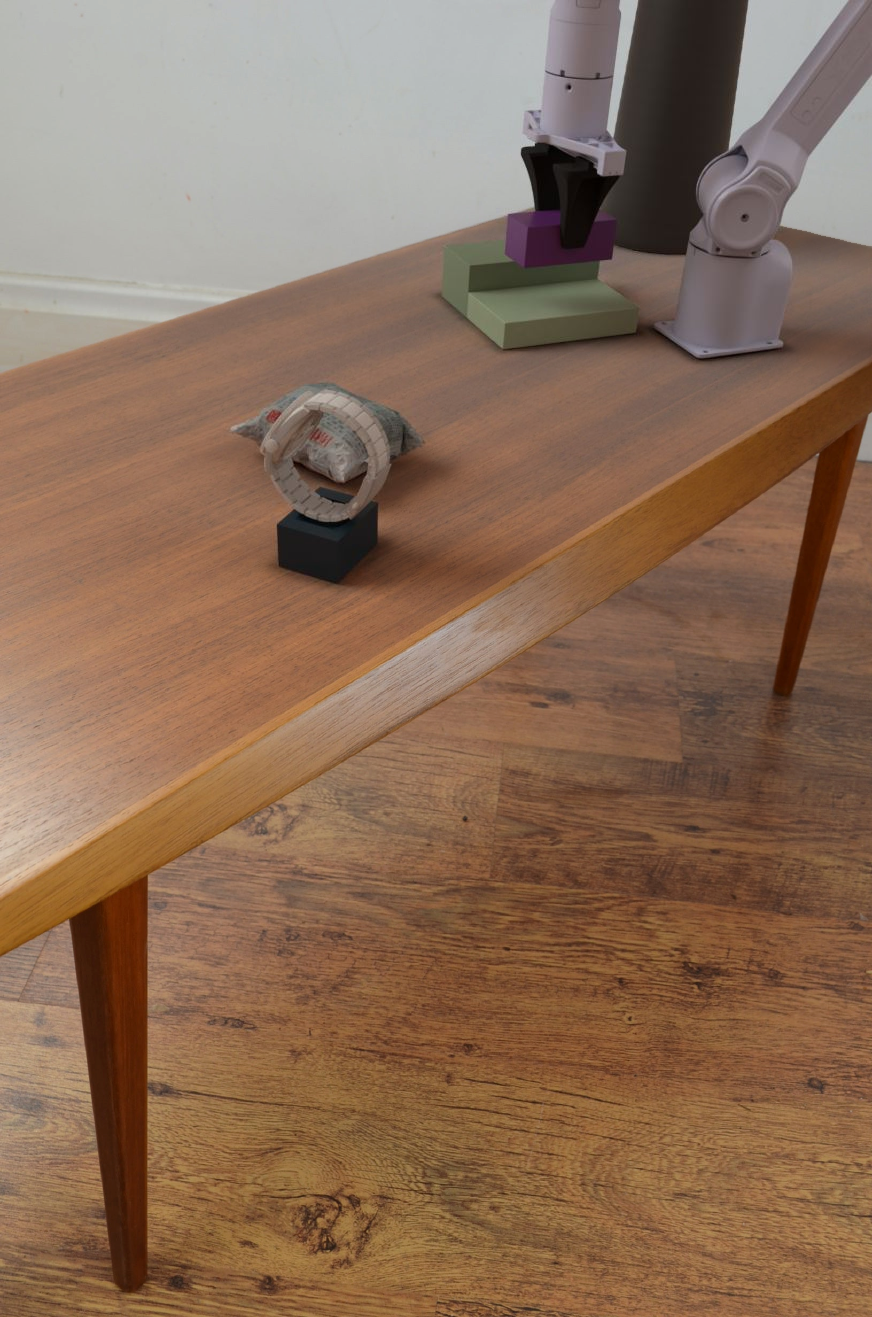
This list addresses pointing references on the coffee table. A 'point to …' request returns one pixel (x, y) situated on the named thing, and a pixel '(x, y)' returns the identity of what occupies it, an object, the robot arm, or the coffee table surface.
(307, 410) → the watch
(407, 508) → the coffee table surface
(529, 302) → the step shelf
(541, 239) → the purple rectangular block
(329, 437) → the packaged food
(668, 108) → the vase
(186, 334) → the coffee table surface
